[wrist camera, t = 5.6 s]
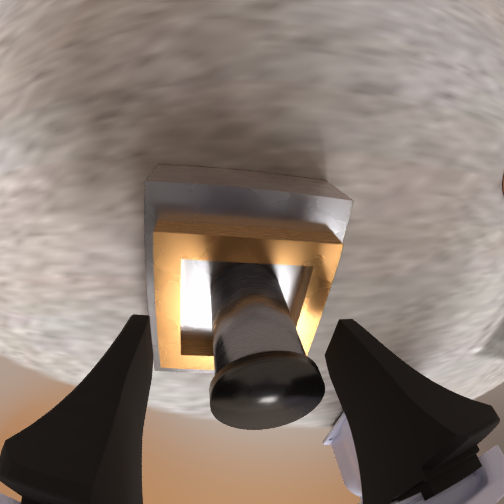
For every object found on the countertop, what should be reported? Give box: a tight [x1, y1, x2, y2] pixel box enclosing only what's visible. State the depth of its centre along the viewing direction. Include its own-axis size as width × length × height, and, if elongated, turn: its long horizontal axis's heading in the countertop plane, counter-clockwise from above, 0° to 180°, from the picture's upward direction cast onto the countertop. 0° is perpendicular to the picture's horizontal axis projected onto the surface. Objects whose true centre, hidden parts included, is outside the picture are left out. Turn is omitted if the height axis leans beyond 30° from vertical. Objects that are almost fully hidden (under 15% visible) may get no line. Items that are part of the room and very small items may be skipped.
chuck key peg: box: [209, 264, 325, 430], centre depth 10 cm, size 3×3×6 cm
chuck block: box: [144, 164, 353, 373], centre depth 14 cm, size 10×8×4 cm
